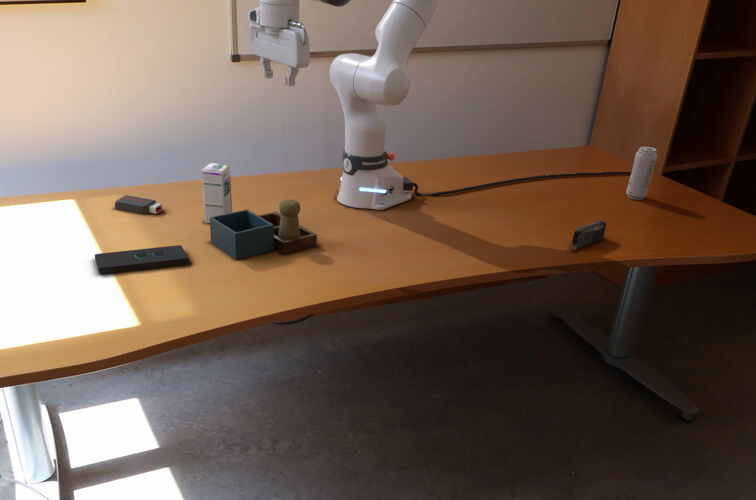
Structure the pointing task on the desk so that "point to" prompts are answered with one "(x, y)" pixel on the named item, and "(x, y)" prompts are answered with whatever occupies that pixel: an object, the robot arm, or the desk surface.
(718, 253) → the desk surface
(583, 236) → the mobile phone
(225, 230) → the bin
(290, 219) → the olive pepper mill
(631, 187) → the energy drink can
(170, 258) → the smart home device
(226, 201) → the syrup box
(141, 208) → the usb drive
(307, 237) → the holder
